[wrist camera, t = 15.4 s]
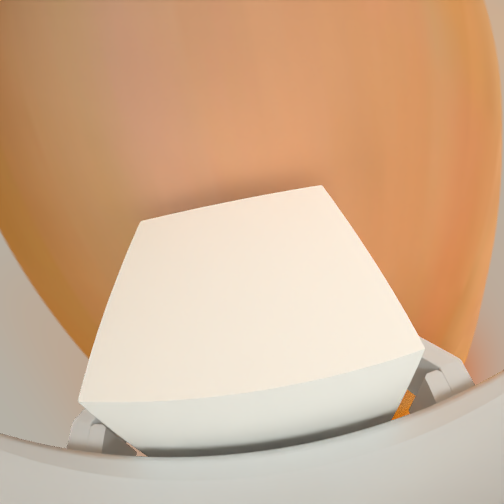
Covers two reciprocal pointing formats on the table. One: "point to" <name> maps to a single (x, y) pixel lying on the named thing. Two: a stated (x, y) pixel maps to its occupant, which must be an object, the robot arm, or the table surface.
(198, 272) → the matte ivory cube
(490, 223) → the table surface
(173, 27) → the table surface
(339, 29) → the table surface
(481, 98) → the table surface
